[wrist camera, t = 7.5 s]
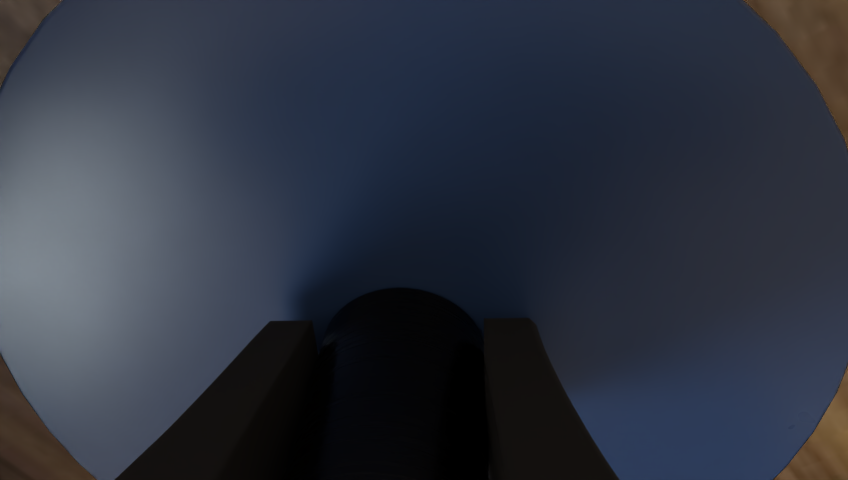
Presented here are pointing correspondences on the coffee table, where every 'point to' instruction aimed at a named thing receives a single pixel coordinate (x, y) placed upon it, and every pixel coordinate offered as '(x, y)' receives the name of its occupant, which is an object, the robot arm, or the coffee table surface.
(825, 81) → the coffee table surface
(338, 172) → the lid
